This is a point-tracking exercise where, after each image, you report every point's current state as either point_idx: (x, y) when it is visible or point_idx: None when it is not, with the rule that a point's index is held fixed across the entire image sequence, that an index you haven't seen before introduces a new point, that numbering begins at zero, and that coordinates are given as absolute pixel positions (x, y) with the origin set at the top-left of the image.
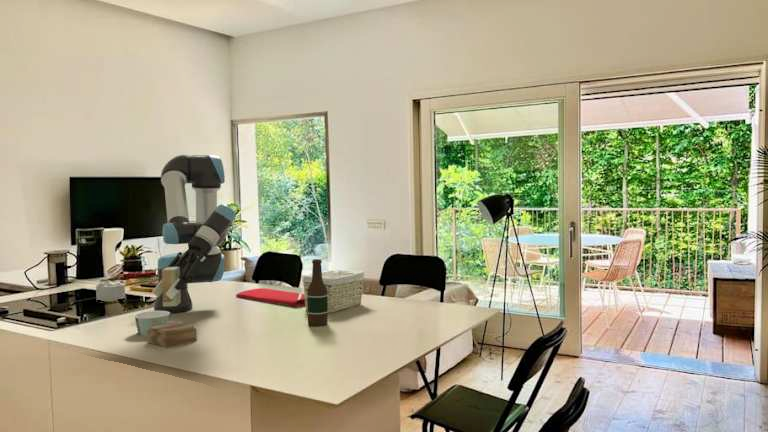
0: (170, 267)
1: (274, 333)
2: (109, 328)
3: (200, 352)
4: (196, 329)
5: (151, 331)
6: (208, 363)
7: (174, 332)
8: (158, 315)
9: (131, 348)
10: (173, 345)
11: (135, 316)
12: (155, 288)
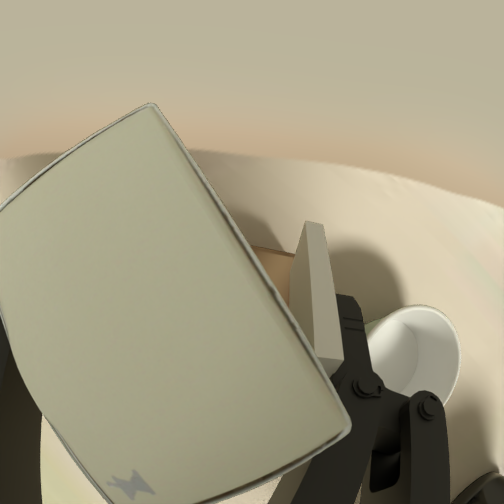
0: (189, 402)
1: (44, 463)
2: (494, 319)
3: None
4: None
5: (272, 250)
6: (16, 187)
7: None
8: None
9: (277, 188)
10: None
11: (447, 329)
12: (314, 242)
